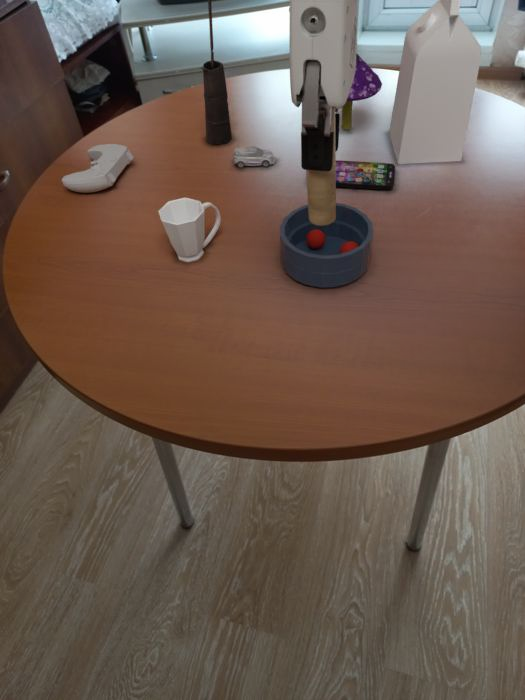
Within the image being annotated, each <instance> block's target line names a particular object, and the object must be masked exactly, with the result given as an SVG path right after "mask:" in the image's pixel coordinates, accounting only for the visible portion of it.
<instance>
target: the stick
mask: <svg viewBox="0 0 525 700" xmlns="http://www.w3.org/2000/svg"><path fill="white" fill-rule="evenodd" d="M318 112H319V115H323V117H324V118H325V110H318ZM335 113H336V112H335V107H332V118H331V132H334V140H333V166H332V169H331V170H330V171H316V170H305V172H306V173H305V174H306V190H307V191H306V192H307V205H308V213H309V221H310V222H311V223H312V224H314V225H319V226H324V225H328V224H331V223H332V222H334V221H335V219H336V203H337V187H336V159H337V157H336V155H337V153H336V152H337V151H336V141H335Z"/></svg>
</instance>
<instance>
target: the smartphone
mask: <svg viewBox="0 0 525 700" xmlns="http://www.w3.org/2000/svg"><path fill="white" fill-rule="evenodd" d="M395 175H396V165H395V163H390V162H389V163H387V162H374V161H373V162H371V161H355V160H353V161H352V160H336V188H350V189H366V190H382V191H390V190H393V188H394V186H395V177H396V176H395Z"/></svg>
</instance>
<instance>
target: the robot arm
mask: <svg viewBox="0 0 525 700" xmlns="http://www.w3.org/2000/svg"><path fill="white" fill-rule="evenodd" d="M288 12H289V84H290V85H289V87H290V99H291V102H292V104H293V105H294V106H295V107H297V108H299V107H300V106H301V132H300V155H301V156H300V159H301V162H300V164H301V169H302V170H304V171H306V170H316V171H330V170H331V169H332V166H333V140H334V132H331V118H332V107H335V141H336V152H337V151H338V149H339V142H340V141H339V140H340V121H341V119H340V118H341V113H339V110H340V109H342V107H343V106H344V104H345V103H346V100H347V98H348V95H349V92H350V89H351V86H352V82H353V79H354V76H355V71H356V53H357V47H358V46H357V45H358V23H359V22H358V19H359V18H358V17H359V0H289V8H288ZM318 110H325V118H324V117H323V115H319V112H318Z"/></svg>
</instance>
